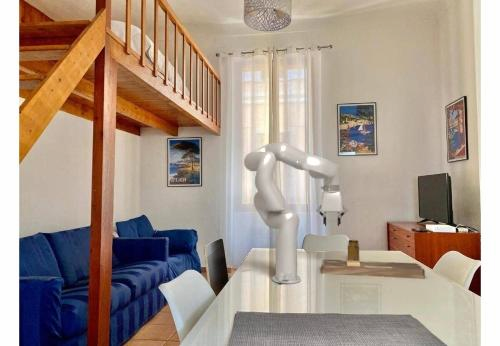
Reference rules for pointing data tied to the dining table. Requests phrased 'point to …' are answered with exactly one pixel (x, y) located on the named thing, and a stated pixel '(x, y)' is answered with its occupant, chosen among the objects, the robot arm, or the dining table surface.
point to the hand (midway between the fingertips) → (331, 225)
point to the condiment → (353, 250)
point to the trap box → (374, 269)
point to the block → (353, 263)
